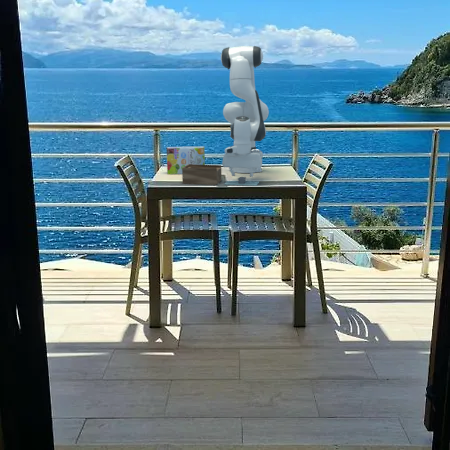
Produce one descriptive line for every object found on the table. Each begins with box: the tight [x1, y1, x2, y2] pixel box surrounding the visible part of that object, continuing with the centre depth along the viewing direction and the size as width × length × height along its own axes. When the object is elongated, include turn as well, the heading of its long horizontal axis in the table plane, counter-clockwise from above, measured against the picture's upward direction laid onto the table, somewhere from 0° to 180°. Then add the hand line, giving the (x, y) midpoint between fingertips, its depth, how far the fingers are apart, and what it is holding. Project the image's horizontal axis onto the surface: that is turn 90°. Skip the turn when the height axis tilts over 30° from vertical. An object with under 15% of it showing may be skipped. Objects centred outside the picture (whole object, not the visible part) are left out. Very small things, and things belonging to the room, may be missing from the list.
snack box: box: [166, 145, 206, 175], centre depth 328 cm, size 21×6×15 cm, turn 92°
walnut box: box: [181, 164, 222, 186], centre depth 303 cm, size 12×18×8 cm, turn 79°
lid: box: [223, 176, 260, 187], centre depth 300 cm, size 10×17×4 cm, turn 79°
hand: (242, 176), depth 299 cm, fingers open, 8 cm apart
